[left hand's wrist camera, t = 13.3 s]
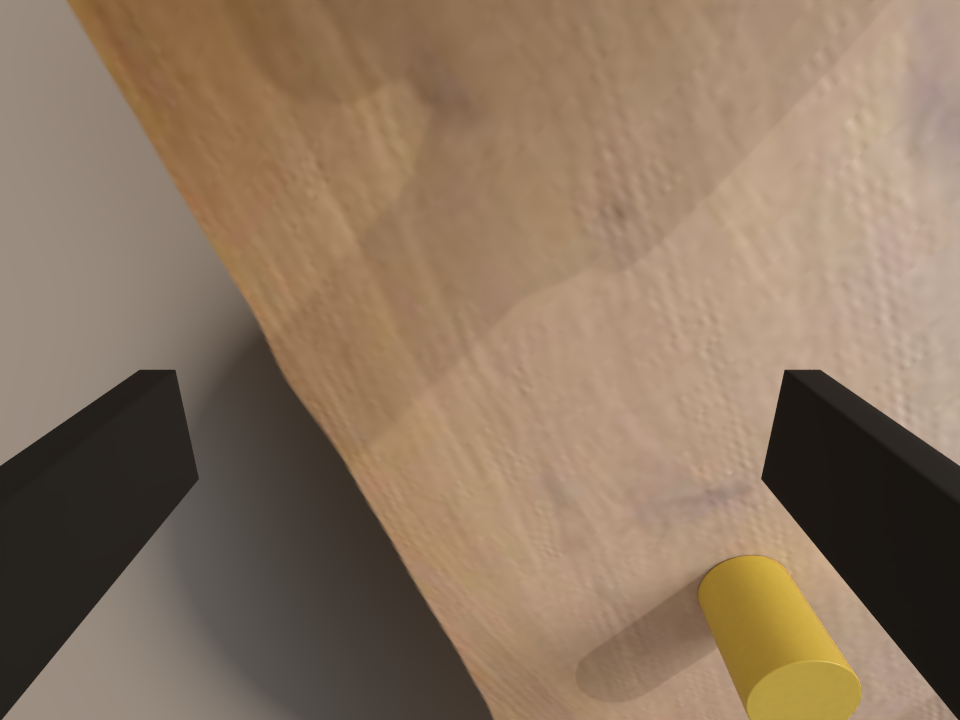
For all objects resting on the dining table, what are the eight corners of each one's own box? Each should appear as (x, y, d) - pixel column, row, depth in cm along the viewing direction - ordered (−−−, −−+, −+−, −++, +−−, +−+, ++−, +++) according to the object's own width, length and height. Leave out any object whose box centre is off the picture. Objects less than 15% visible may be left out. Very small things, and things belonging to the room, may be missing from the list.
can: (731, 637, 40) (785, 753, 33) (679, 588, 39) (723, 698, 31) (808, 592, 39) (883, 704, 31) (757, 539, 37) (824, 643, 30)
